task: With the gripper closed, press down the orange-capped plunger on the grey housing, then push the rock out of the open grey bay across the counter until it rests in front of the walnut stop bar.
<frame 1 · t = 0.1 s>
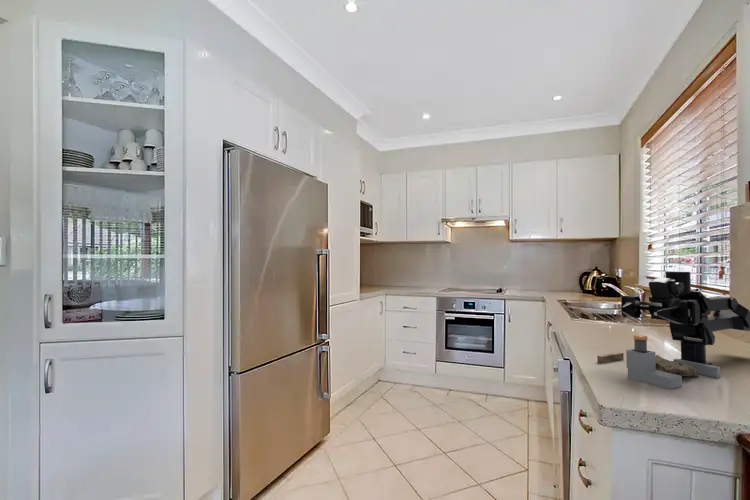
hand: (639, 311, 105), 17 cm above the counter, tool horizontal, fingers open, 9 cm apart
plunger: (640, 347, 100), point 8 cm above the counter, slide at 0.0 cm
stop bar: (610, 361, 118), on the counter
bay: (677, 376, 102), on the counter
rock: (669, 376, 104), on the counter
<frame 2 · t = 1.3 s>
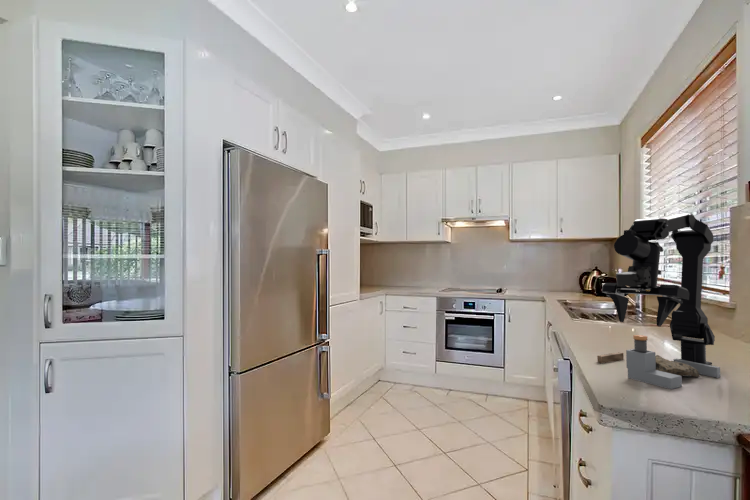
hand: (639, 324, 101), 14 cm above the counter, tool pointing down, fingers open, 9 cm apart
nothing on the counter moved.
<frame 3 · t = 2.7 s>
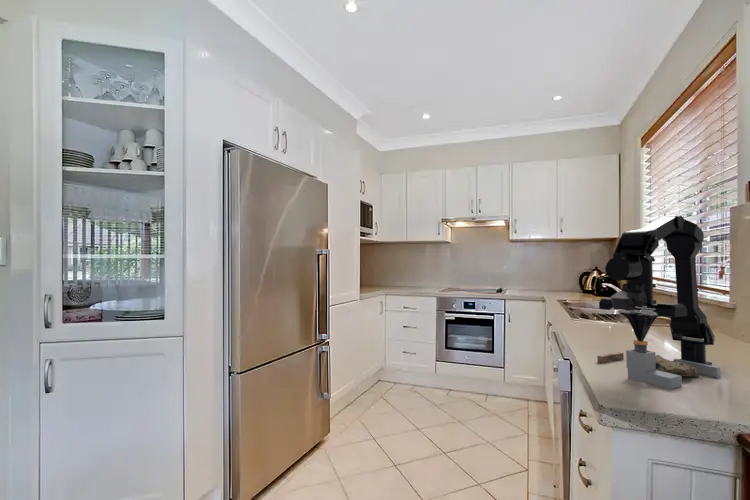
hand: (640, 340, 100), 10 cm above the counter, tool pointing down, fingers closed, pressing on plunger
plunger: (640, 352, 100), point 7 cm above the counter, slide at 1.2 cm, touching gripper
everything else where it was.
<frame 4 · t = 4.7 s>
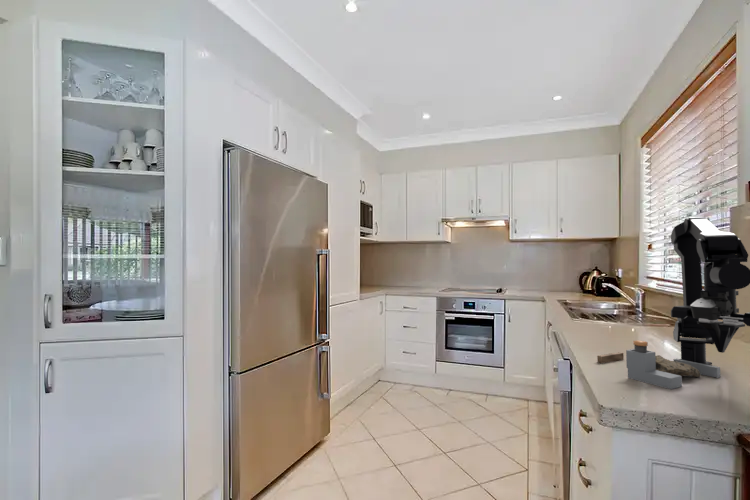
hand: (721, 352, 94), 8 cm above the counter, tool pointing down, fingers closed
plunger: (640, 353, 100), point 6 cm above the counter, slide at 1.4 cm
everything else where it was.
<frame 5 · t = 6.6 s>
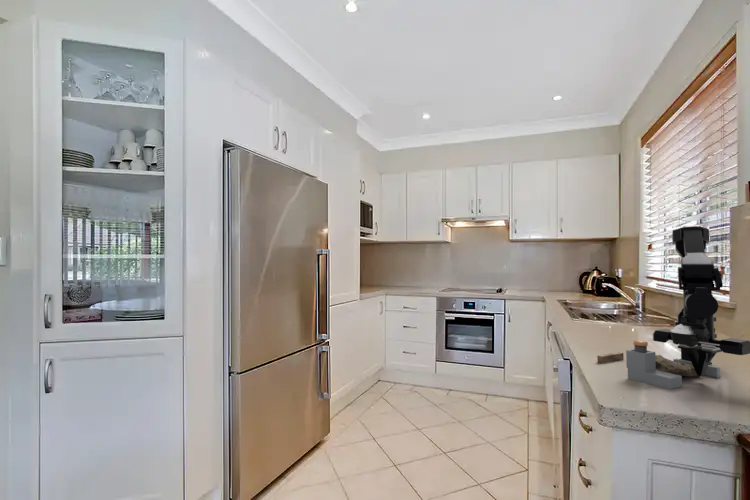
hand: (700, 375, 97), 1 cm above the counter, tool pointing down, fingers closed
rock: (671, 376, 104), on the counter, touching gripper
everything else where it was.
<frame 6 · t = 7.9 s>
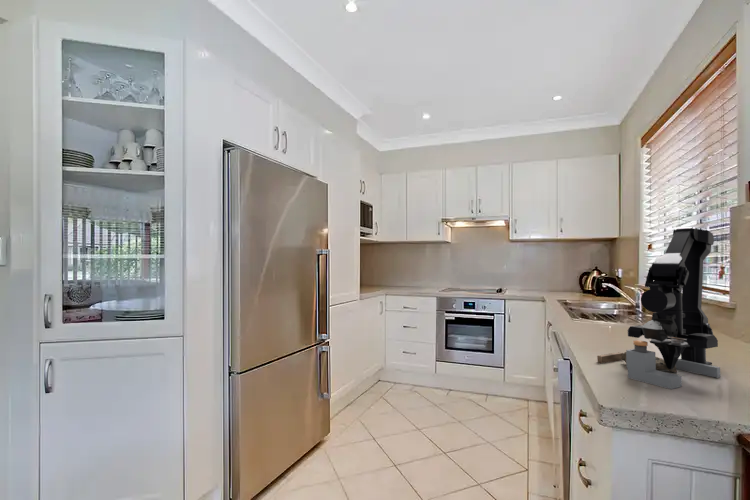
hand: (670, 369, 103), 2 cm above the counter, tool pointing down, fingers closed
rock: (648, 370, 109), on the counter
everything else where it was.
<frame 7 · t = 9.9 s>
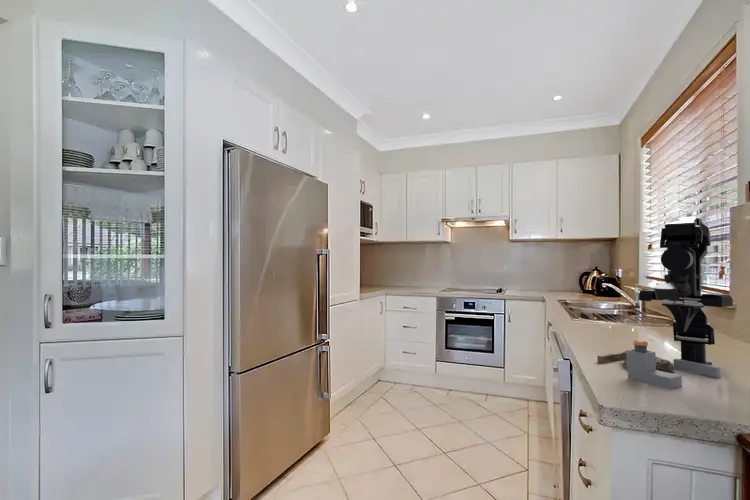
hand: (683, 331, 101), 12 cm above the counter, tool pointing down, fingers closed
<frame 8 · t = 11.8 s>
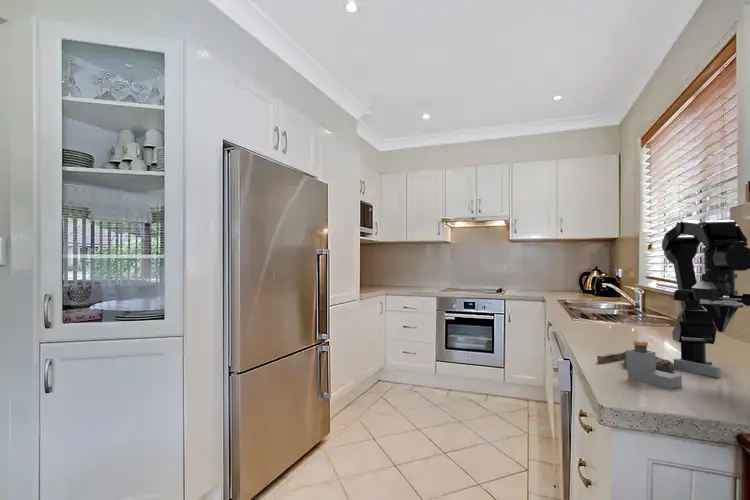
hand: (721, 331, 99), 12 cm above the counter, tool pointing down, fingers closed
nothing on the counter moved.
at the end: rock inside the target area (2.6 cm from its centre), on the counter; rock moved 6.6 cm from its start; plunger slide at 1.4 cm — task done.
